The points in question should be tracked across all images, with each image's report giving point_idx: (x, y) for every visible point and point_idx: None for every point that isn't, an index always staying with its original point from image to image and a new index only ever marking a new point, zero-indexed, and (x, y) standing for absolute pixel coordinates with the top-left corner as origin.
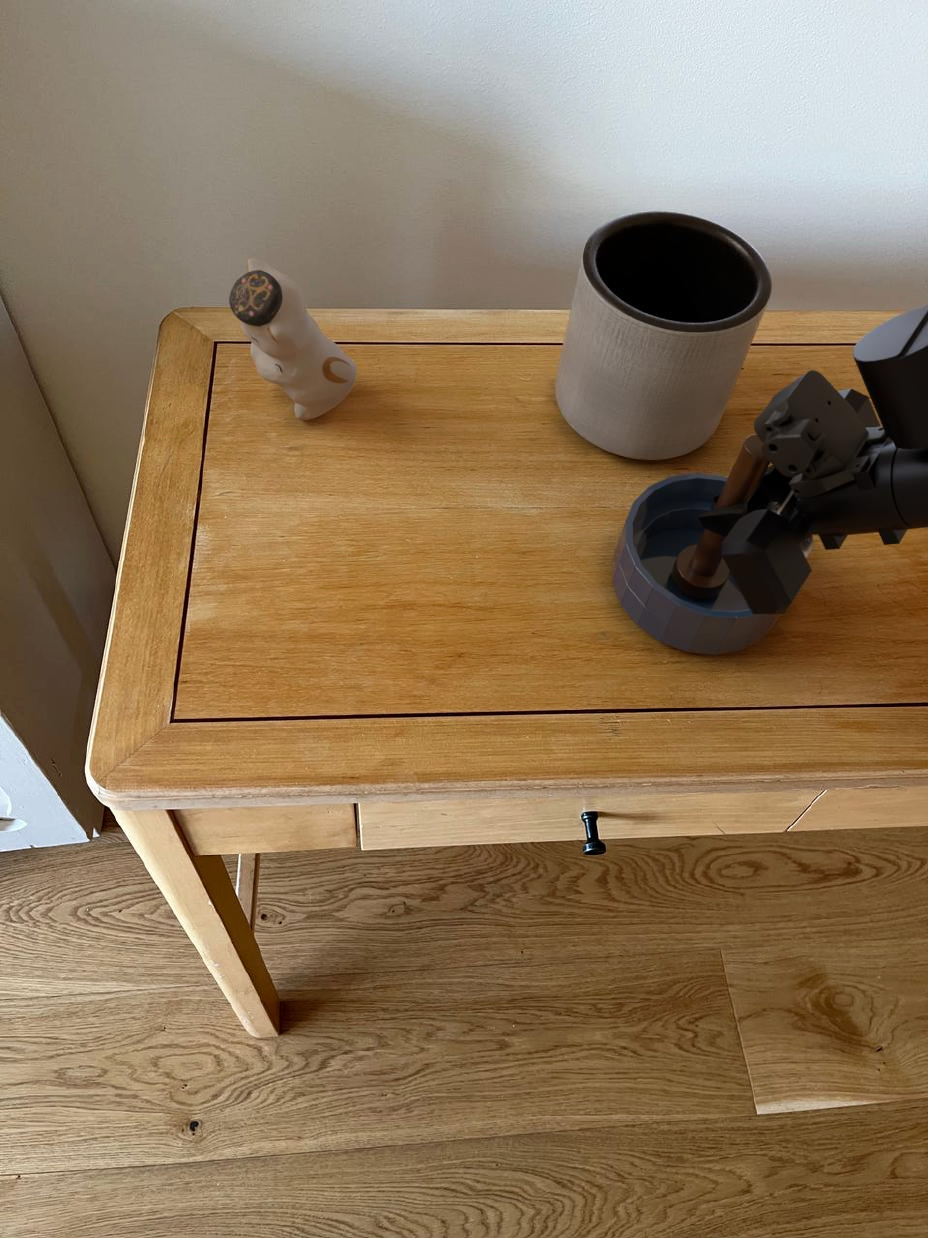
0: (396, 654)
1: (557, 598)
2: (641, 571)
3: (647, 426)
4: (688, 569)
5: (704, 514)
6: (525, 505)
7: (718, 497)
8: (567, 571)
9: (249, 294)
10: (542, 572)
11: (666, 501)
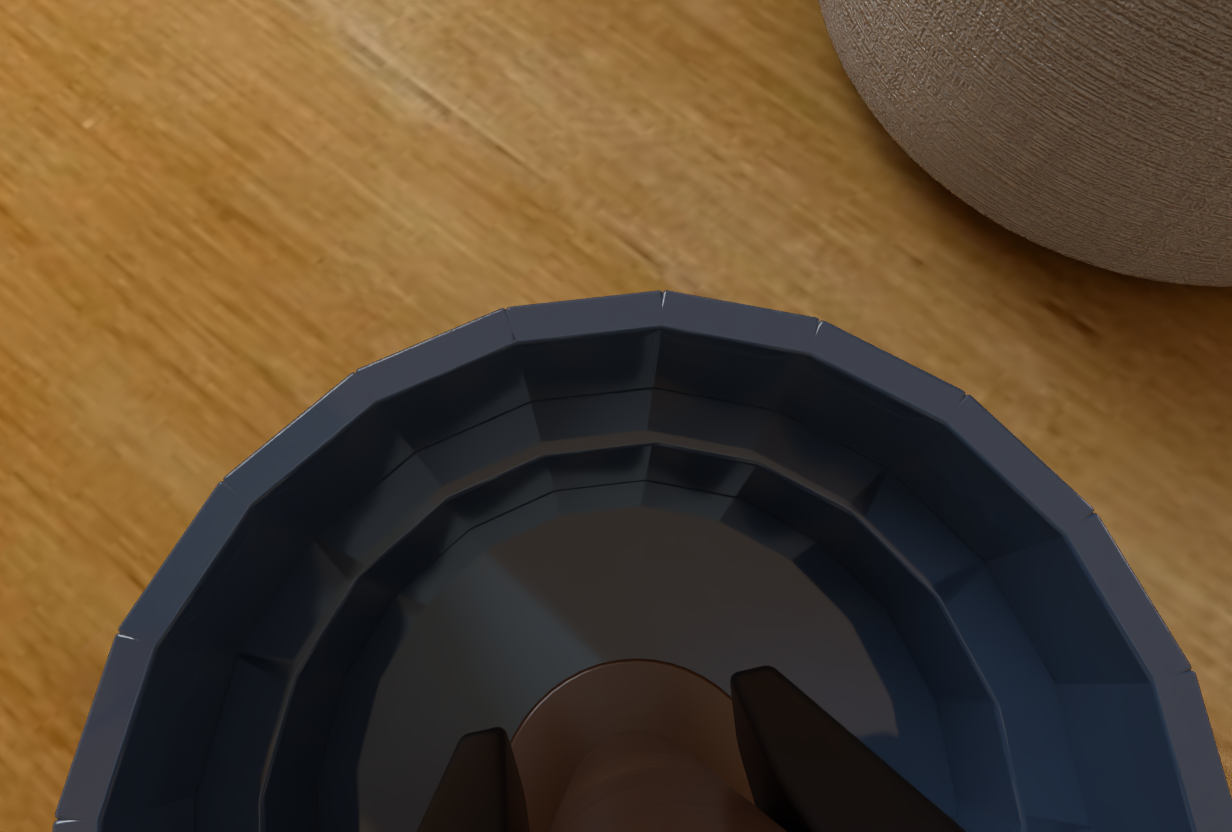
0: None
1: (142, 442)
2: (110, 681)
3: (997, 33)
4: (557, 769)
5: (470, 772)
6: (411, 71)
7: (740, 715)
8: (279, 377)
9: None
10: (204, 319)
11: (773, 408)
